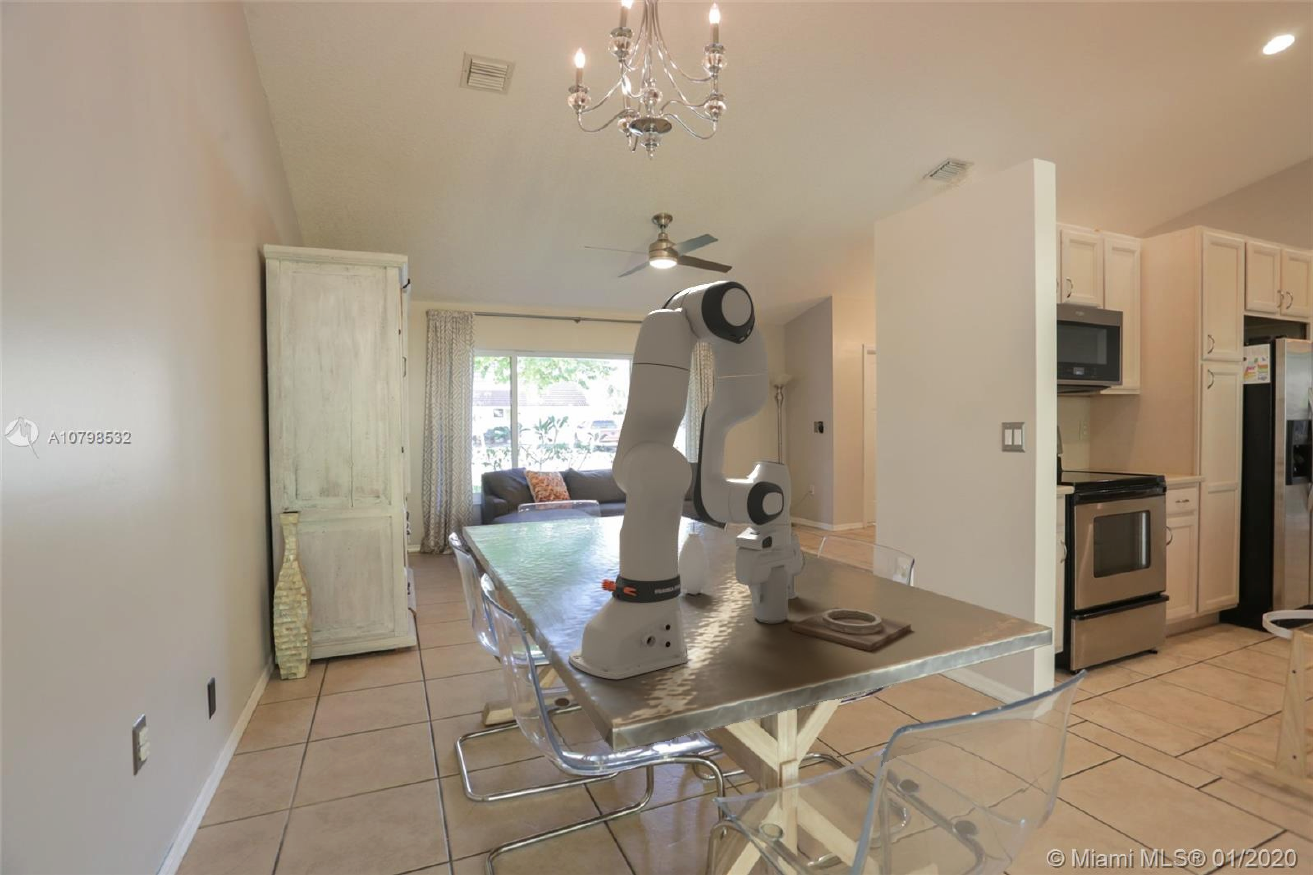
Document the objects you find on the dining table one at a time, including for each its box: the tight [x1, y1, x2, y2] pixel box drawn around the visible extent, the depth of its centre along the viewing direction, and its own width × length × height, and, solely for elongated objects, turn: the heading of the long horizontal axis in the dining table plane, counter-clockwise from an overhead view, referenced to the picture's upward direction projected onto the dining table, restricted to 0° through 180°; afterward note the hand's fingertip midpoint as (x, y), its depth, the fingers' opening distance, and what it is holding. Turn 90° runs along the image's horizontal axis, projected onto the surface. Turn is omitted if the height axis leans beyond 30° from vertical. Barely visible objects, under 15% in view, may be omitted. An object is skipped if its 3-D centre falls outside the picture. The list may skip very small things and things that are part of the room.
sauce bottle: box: [678, 522, 710, 595], centre depth 157 cm, size 8×8×18 cm
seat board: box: [791, 606, 912, 652], centre depth 129 cm, size 18×17×3 cm
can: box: [752, 565, 789, 624], centre depth 136 cm, size 8×8×12 cm
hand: (770, 598), depth 136 cm, fingers open, 8 cm apart
